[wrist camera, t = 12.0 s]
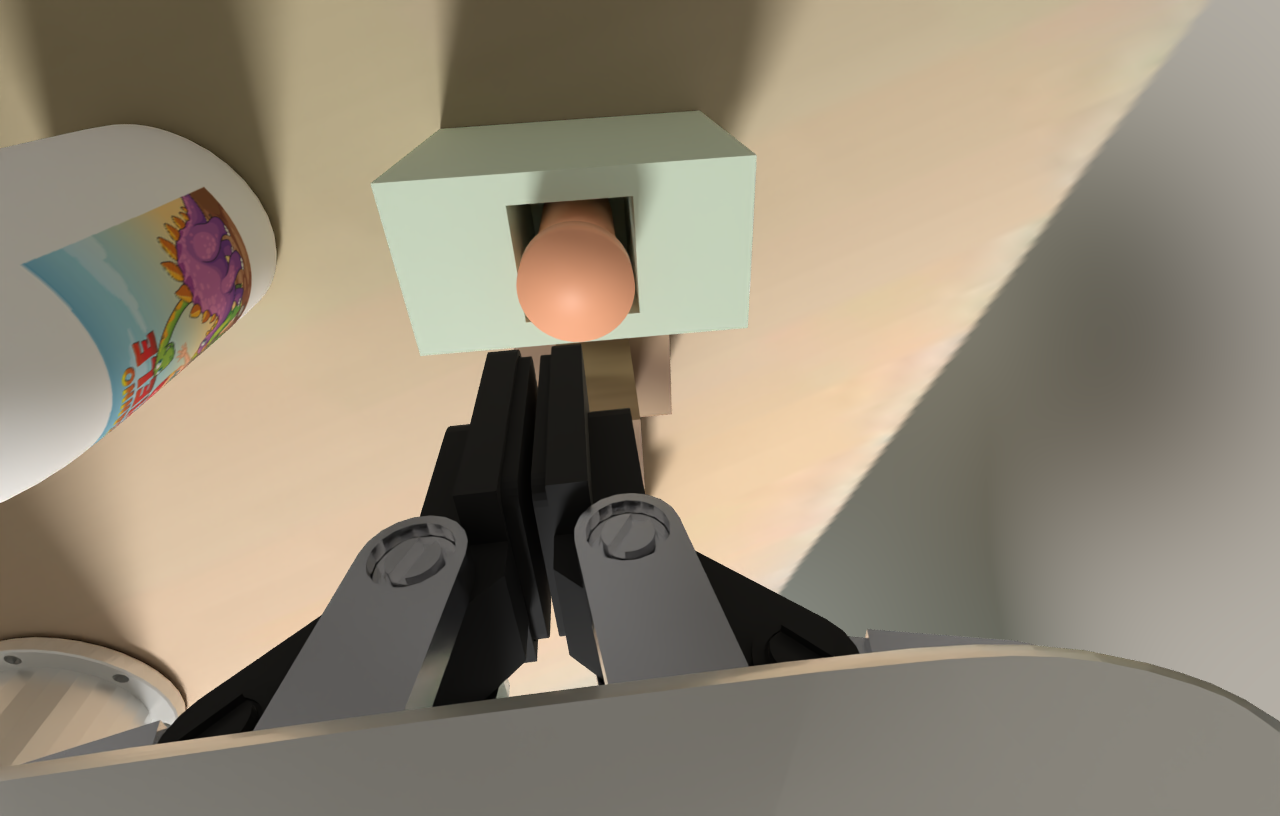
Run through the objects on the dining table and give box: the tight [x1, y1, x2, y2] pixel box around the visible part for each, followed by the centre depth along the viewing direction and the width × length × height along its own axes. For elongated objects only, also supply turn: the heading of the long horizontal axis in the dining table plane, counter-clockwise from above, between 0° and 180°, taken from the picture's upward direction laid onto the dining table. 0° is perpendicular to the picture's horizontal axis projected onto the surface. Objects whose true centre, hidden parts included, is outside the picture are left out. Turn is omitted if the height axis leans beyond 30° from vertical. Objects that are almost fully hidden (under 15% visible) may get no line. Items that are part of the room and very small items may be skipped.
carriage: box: [514, 335, 672, 489], centre depth 24 cm, size 5×6×9 cm
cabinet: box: [371, 111, 756, 356], centre depth 21 cm, size 5×10×9 cm, turn 93°
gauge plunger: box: [516, 198, 635, 342], centre depth 18 cm, size 3×3×7 cm
